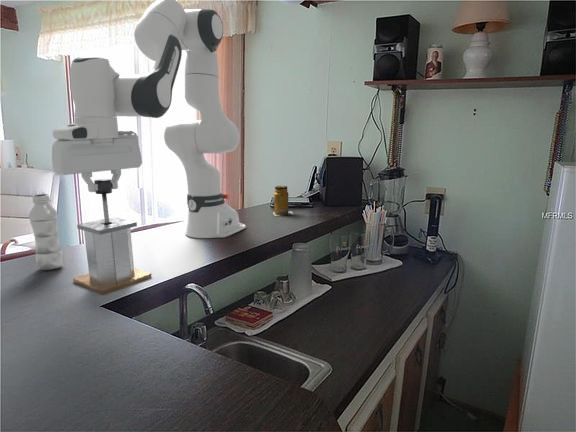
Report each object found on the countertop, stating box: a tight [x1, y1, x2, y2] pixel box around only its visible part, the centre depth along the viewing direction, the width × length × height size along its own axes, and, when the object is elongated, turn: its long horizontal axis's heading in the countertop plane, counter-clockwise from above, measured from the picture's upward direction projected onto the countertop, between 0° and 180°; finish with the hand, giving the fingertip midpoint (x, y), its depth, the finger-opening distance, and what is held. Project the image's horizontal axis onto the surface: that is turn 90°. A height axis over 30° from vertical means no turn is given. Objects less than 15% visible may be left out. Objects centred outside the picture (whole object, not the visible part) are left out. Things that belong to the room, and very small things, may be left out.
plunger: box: [93, 178, 113, 225], centre depth 97 cm, size 7×7×17 cm
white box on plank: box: [72, 216, 152, 296], centre depth 99 cm, size 13×13×14 cm
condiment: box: [272, 185, 295, 217], centre depth 172 cm, size 7×8×12 cm
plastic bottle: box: [28, 193, 65, 271], centre depth 106 cm, size 6×7×20 cm
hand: (103, 190), depth 96 cm, fingers closed on plunger, 4 cm apart
